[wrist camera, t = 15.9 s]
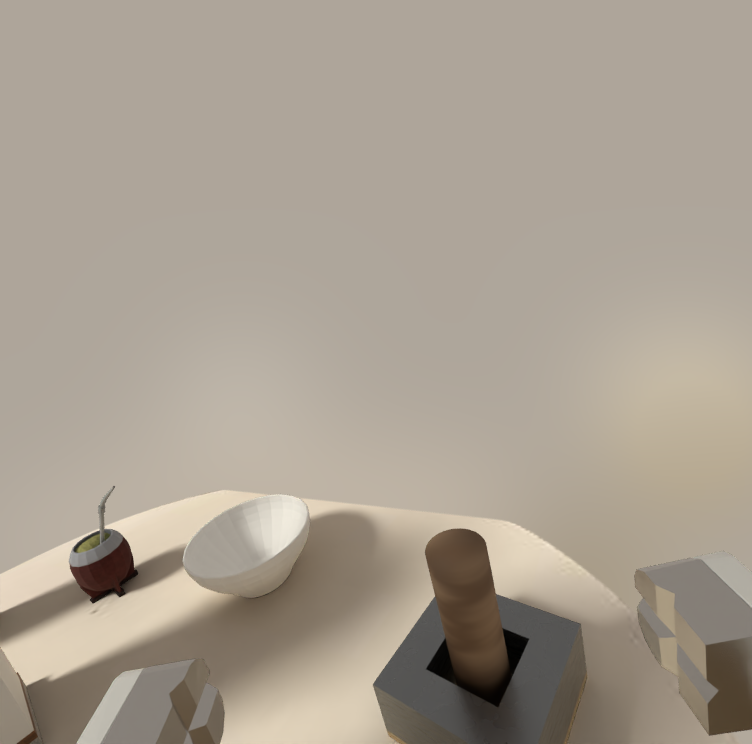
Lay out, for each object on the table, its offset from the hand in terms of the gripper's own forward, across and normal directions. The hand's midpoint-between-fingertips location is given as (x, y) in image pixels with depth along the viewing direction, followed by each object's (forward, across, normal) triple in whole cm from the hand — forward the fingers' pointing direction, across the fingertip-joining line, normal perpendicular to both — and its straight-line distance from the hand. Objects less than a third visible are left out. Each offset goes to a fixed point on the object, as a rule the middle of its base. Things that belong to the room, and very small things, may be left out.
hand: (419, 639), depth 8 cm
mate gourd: (+46, +45, +30) cm, 71 cm away
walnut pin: (+20, -2, +30) cm, 36 cm away
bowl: (+42, +23, +30) cm, 56 cm away
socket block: (+20, -2, +30) cm, 37 cm away
